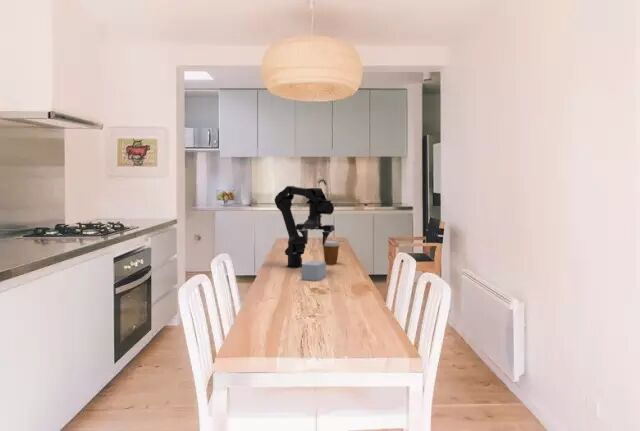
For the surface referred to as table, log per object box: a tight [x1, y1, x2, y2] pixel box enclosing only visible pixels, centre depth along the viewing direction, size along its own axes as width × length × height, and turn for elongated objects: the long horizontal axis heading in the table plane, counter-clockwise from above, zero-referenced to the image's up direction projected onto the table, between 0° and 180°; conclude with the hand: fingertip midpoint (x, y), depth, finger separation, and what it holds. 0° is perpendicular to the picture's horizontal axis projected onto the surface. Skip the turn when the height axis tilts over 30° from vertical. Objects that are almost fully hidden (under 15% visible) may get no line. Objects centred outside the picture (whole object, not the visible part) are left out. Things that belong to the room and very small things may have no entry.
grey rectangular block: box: [301, 260, 327, 282], centre depth 227 cm, size 8×10×7 cm
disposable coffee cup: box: [322, 240, 341, 266], centre depth 265 cm, size 10×10×12 cm
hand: (314, 244), depth 245 cm, fingers open, 9 cm apart
